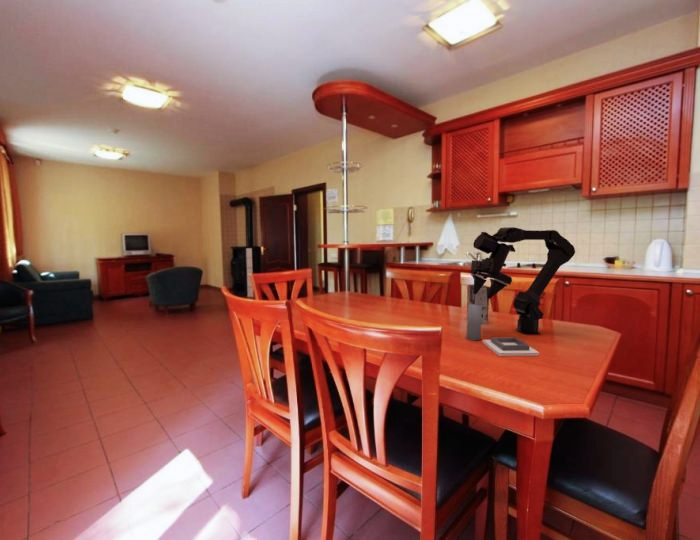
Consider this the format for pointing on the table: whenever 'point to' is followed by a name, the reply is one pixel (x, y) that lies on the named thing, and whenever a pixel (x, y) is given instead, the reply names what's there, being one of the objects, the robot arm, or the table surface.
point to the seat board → (510, 347)
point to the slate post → (474, 322)
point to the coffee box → (480, 301)
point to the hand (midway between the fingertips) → (481, 296)
